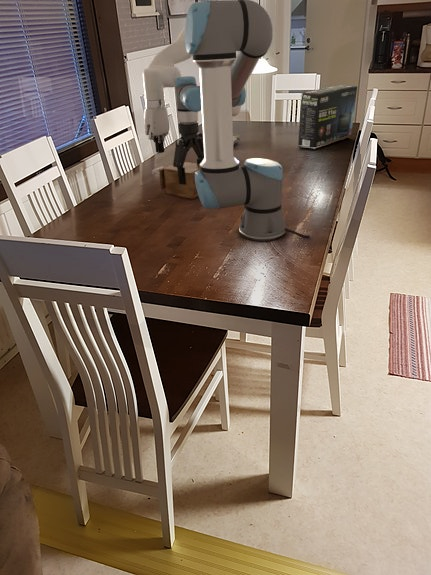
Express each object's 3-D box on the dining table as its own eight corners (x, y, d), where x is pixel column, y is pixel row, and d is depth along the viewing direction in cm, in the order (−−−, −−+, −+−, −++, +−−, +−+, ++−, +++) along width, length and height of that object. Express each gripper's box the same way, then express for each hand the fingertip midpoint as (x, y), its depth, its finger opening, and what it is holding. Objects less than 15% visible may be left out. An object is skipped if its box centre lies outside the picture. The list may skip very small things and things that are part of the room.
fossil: (229, 142, 236) (210, 124, 240) (219, 159, 243) (200, 141, 246) (247, 141, 250) (228, 123, 253) (236, 157, 257) (218, 140, 260)
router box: (314, 151, 231) (318, 94, 217) (296, 148, 237) (299, 92, 224) (352, 138, 251) (358, 85, 238) (335, 135, 258) (340, 83, 245)
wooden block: (166, 193, 186) (163, 168, 180) (183, 185, 193) (181, 161, 188) (192, 199, 179) (190, 173, 173) (209, 190, 186) (207, 165, 181)
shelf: (150, 186, 190) (147, 167, 186) (165, 180, 197) (163, 161, 193) (183, 194, 181) (182, 173, 177) (199, 186, 188) (197, 167, 184)
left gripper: (161, 100, 183) (165, 146, 192) (134, 106, 172) (140, 155, 182) (175, 101, 179) (179, 149, 188) (149, 107, 168) (154, 157, 178)
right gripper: (199, 115, 180) (202, 170, 192) (159, 127, 164) (165, 186, 176) (214, 117, 177) (216, 172, 188) (175, 129, 160) (180, 189, 172)
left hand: (160, 152), depth 185 cm, fingers closed
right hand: (191, 179), depth 182 cm, fingers closed on wooden block, 11 cm apart
